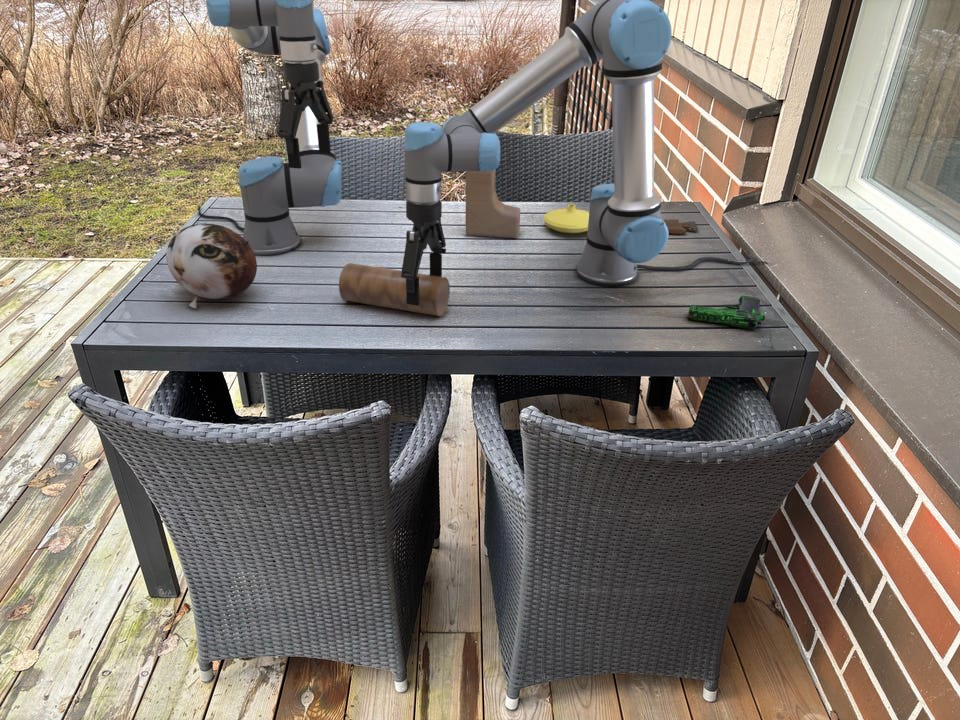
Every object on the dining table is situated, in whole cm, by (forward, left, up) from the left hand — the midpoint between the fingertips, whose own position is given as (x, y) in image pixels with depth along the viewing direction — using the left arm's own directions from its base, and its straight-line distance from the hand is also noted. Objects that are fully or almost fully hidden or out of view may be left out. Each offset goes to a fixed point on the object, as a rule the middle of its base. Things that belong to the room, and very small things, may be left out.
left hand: (310, 160), depth 165 cm
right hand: (+33, -1, -24) cm, 41 cm away
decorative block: (+19, +50, -29) cm, 61 cm away
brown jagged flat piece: (+56, +81, -29) cm, 103 cm away
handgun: (+91, +37, -29) cm, 102 cm away
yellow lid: (+36, +66, -29) cm, 81 cm away
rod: (+26, -3, -29) cm, 39 cm away
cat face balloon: (-12, -22, -29) cm, 39 cm away
